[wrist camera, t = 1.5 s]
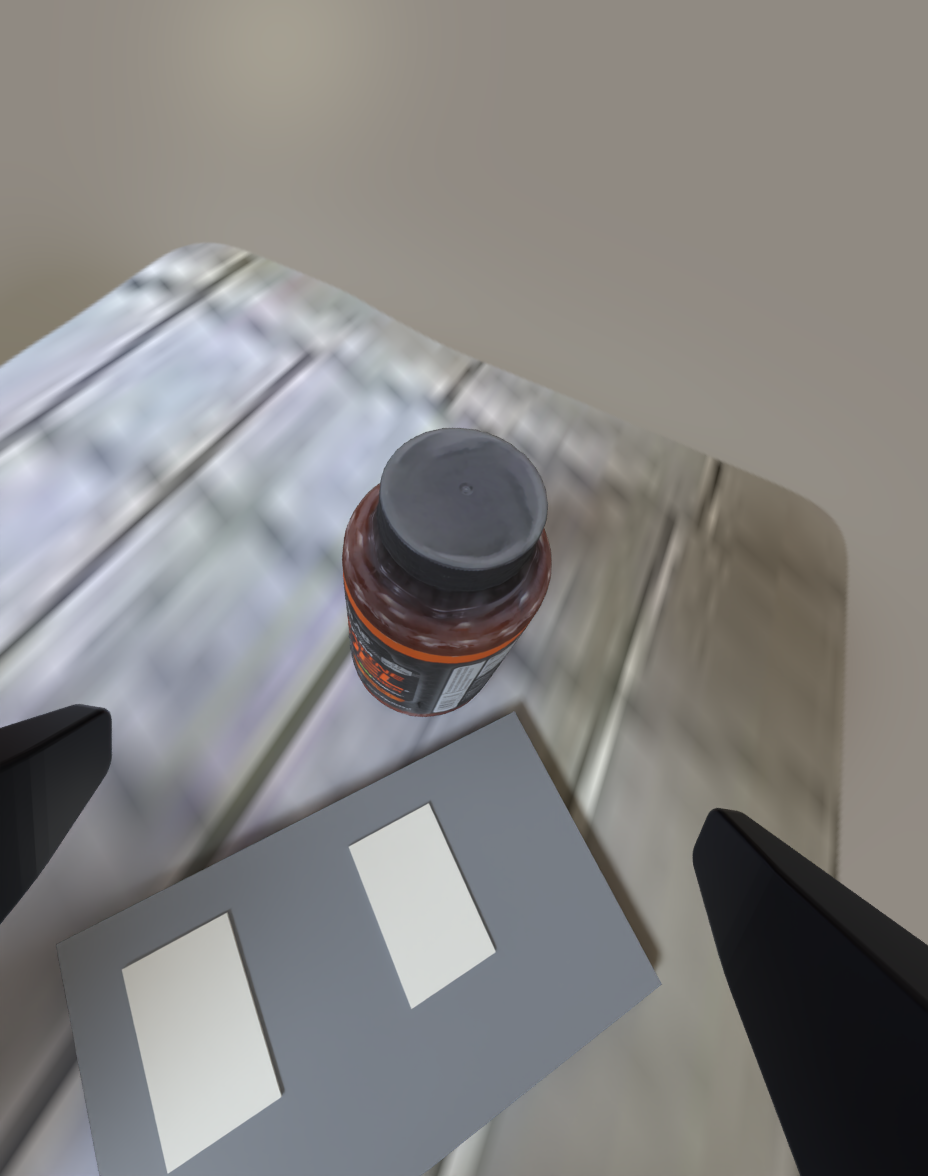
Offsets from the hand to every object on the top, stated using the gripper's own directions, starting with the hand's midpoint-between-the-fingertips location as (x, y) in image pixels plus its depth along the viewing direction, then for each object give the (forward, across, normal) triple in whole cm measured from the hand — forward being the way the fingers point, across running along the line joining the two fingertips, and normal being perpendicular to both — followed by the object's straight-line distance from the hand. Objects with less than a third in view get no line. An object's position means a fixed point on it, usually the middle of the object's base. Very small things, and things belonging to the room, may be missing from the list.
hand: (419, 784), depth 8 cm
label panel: (+6, 0, +12) cm, 13 cm away
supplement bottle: (+14, 0, +4) cm, 15 cm away
